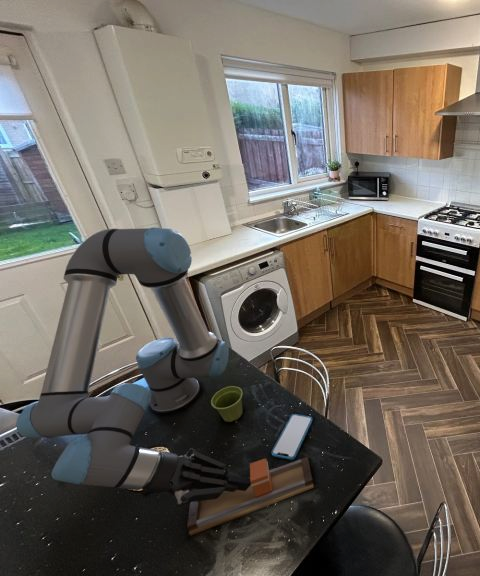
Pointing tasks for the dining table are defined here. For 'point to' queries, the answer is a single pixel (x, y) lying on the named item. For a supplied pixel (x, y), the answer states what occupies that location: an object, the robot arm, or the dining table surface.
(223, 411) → the plant pot
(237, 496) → the rail
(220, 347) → the robot arm
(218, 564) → the dining table surface
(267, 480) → the orange block
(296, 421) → the smartphone
